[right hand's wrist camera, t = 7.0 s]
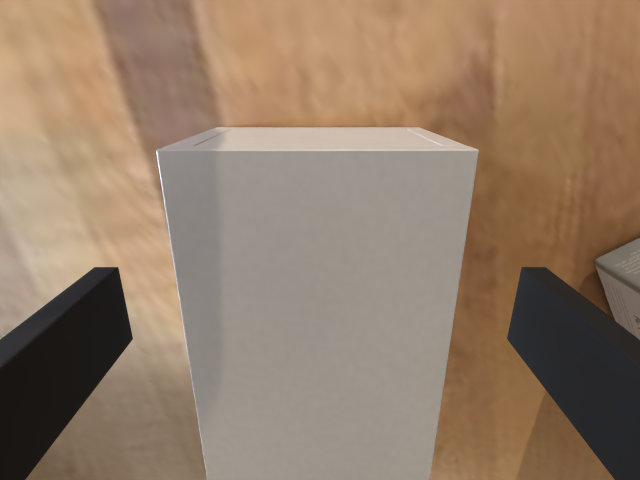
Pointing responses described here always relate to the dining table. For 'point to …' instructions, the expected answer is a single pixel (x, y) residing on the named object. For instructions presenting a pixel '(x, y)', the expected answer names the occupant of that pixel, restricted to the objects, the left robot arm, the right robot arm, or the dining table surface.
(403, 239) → the cabinet
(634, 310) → the hard drive box
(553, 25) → the dining table surface
